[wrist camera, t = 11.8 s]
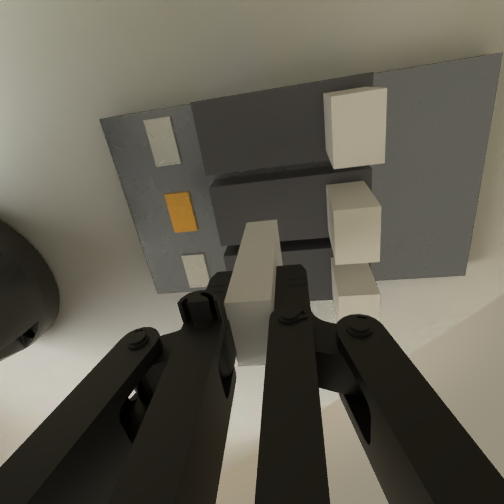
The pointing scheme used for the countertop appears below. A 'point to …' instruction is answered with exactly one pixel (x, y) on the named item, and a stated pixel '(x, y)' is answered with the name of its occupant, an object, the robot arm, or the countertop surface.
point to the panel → (383, 175)
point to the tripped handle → (353, 223)
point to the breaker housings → (296, 173)
